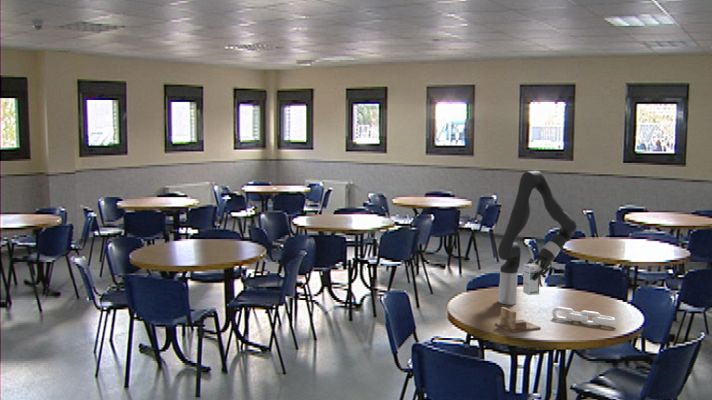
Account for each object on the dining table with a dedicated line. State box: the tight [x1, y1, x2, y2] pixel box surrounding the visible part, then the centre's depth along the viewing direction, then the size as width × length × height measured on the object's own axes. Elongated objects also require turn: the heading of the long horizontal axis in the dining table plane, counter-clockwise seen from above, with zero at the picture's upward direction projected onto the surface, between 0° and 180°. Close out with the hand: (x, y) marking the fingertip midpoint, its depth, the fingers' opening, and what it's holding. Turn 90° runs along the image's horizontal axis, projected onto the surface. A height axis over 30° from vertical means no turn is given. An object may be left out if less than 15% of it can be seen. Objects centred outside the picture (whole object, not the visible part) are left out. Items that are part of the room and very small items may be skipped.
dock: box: [494, 306, 541, 334], centre depth 332 cm, size 14×16×9 cm
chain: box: [551, 306, 617, 326], centre depth 342 cm, size 30×6×6 cm, turn 60°
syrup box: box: [522, 263, 541, 296], centre depth 339 cm, size 6×6×14 cm
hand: (528, 277), depth 338 cm, fingers closed on syrup box, 6 cm apart
